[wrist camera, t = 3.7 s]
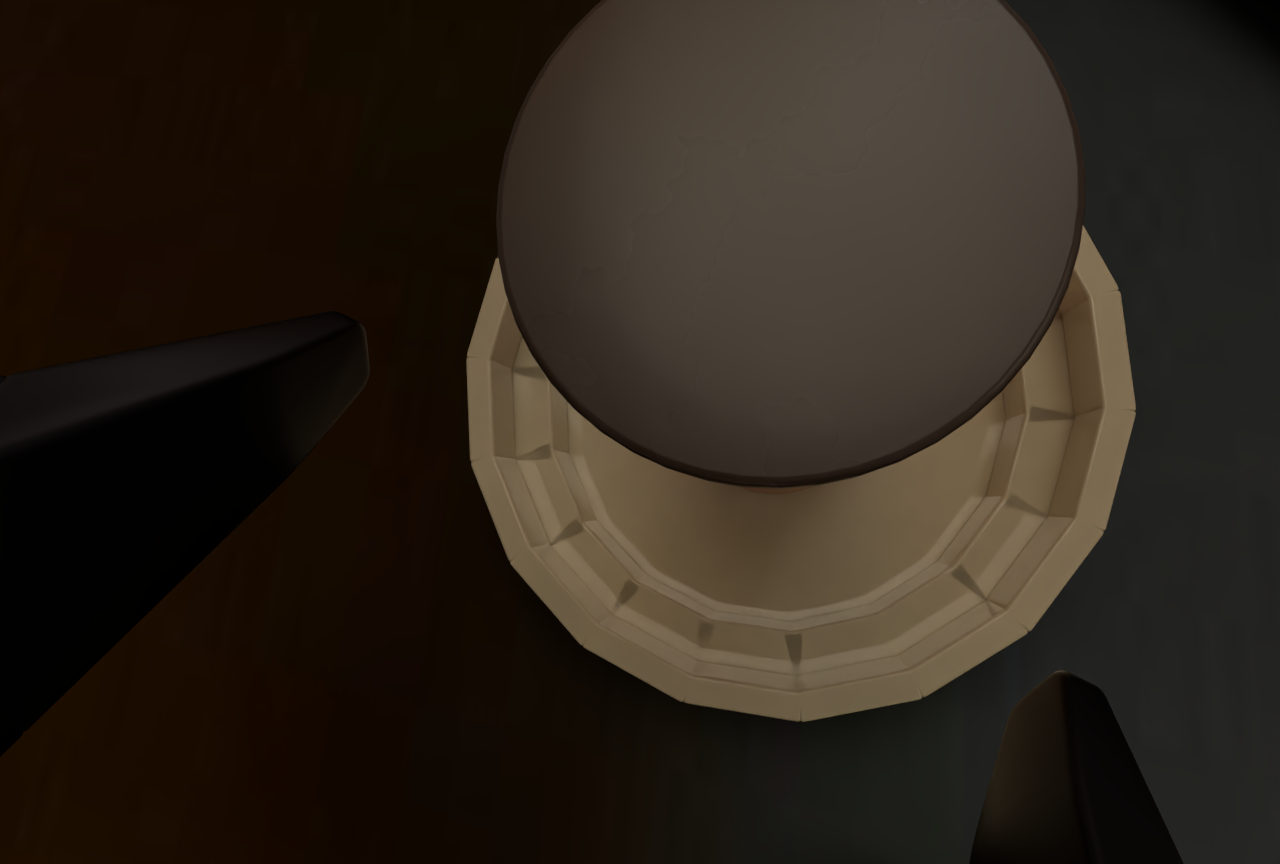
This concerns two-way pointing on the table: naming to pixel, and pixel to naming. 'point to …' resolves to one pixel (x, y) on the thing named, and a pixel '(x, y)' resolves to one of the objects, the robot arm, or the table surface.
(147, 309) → the table surface
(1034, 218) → the copper tin
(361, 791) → the table surface
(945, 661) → the bowl
